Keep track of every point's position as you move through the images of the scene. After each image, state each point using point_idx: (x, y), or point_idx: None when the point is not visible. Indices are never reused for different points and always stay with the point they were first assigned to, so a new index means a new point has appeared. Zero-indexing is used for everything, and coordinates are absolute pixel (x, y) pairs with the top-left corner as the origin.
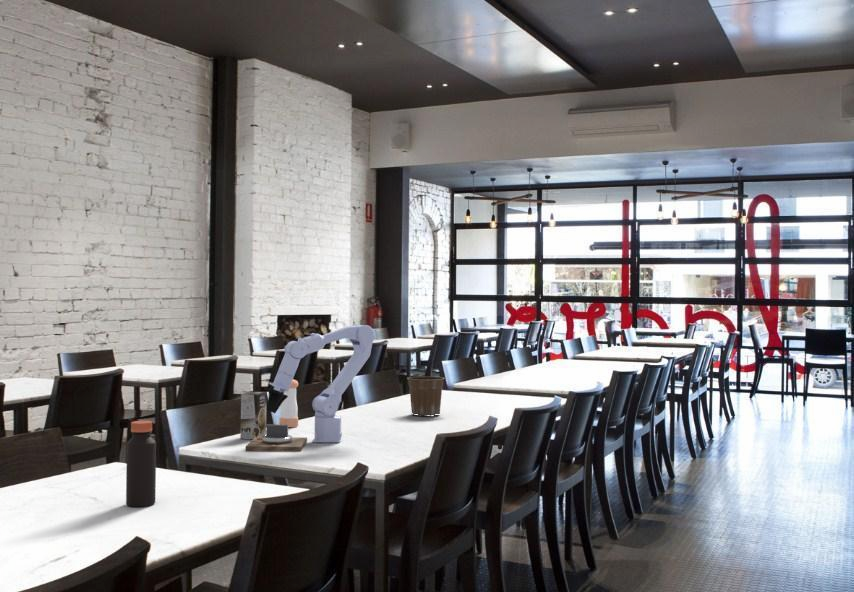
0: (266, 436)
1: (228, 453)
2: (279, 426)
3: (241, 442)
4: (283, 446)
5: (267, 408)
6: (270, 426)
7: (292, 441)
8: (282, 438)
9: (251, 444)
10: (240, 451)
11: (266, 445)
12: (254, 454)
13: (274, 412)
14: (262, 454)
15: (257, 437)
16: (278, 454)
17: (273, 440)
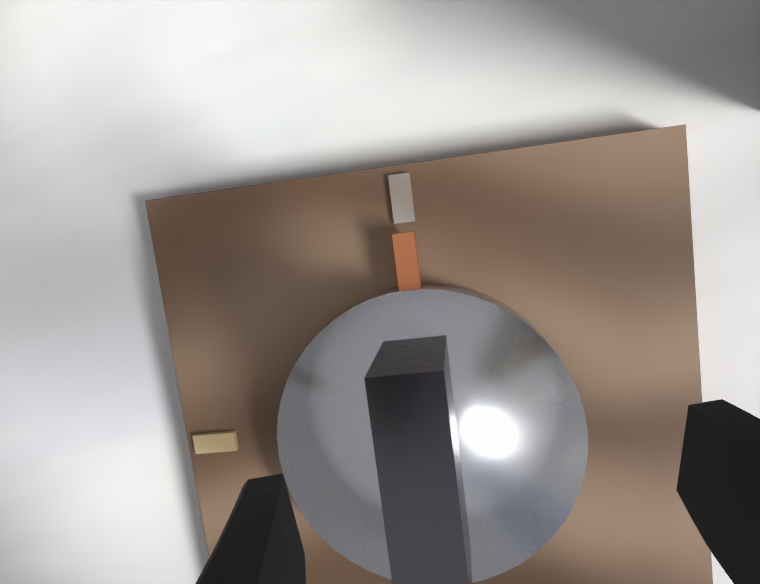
0: (383, 343)
1: (37, 93)
2: (388, 530)
3: (596, 4)
4: (209, 526)
5: (239, 516)
6: (372, 422)
7: None
8: (336, 513)
9: (246, 225)
10: (140, 163)
11: (226, 374)
12: (49, 318)
13: (685, 488)
14: (64, 379)
15: (665, 156)
16: (92, 497)
17: (281, 435)
